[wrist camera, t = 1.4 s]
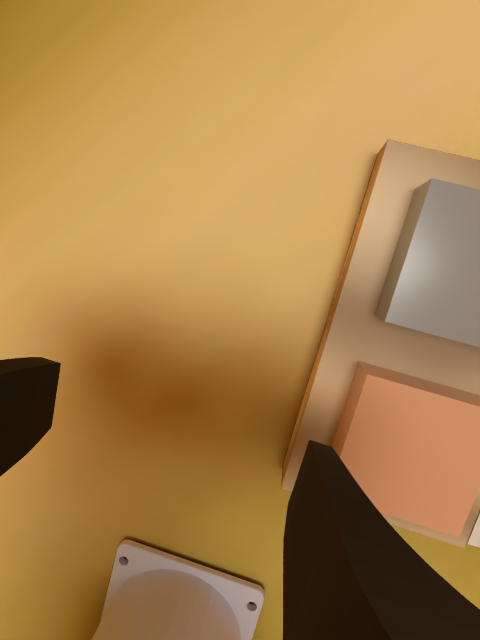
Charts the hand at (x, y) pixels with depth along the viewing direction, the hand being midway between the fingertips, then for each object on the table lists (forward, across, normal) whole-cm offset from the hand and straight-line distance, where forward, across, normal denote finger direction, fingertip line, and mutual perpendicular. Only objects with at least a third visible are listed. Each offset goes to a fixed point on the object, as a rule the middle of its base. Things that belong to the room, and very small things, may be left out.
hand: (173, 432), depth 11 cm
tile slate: (+7, -8, -6) cm, 12 cm away
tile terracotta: (+6, -8, +1) cm, 10 cm away
